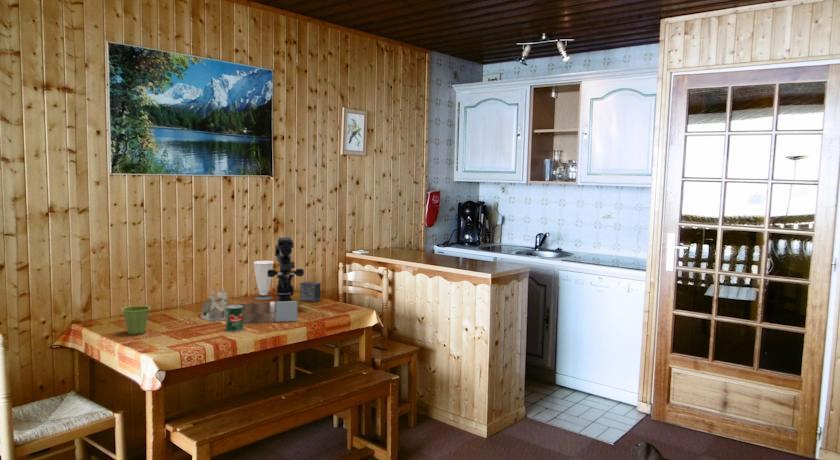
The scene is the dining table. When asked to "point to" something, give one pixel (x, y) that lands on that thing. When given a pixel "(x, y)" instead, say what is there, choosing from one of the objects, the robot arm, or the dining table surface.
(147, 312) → the plant pot
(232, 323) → the canned tomato
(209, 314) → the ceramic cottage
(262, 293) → the cup
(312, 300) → the small box
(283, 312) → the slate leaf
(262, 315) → the walnut leaf
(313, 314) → the dining table surface
